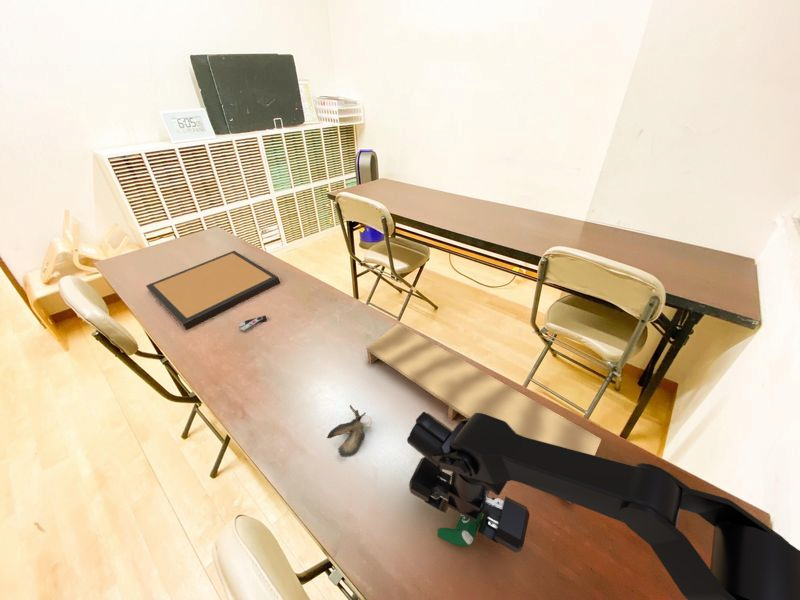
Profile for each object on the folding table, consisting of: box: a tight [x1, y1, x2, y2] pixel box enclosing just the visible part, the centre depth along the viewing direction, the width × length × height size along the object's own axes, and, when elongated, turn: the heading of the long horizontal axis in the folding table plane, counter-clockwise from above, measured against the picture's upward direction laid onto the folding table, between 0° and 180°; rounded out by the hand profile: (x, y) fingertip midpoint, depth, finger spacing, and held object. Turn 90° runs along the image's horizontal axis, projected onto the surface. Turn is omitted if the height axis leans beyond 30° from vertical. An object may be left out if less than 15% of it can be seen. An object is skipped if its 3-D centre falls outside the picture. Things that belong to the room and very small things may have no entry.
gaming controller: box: [437, 512, 485, 548], centre depth 57 cm, size 9×4×6 cm
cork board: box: [145, 250, 281, 331], centre depth 125 cm, size 36×3×35 cm
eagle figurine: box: [326, 404, 373, 458], centre depth 72 cm, size 8×7×9 cm
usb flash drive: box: [238, 315, 268, 333], centre depth 106 cm, size 9×5×1 cm, turn 115°
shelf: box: [366, 323, 602, 505], centre depth 79 cm, size 56×13×6 cm, turn 48°
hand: (462, 519), depth 58 cm, fingers closed on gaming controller, 6 cm apart
